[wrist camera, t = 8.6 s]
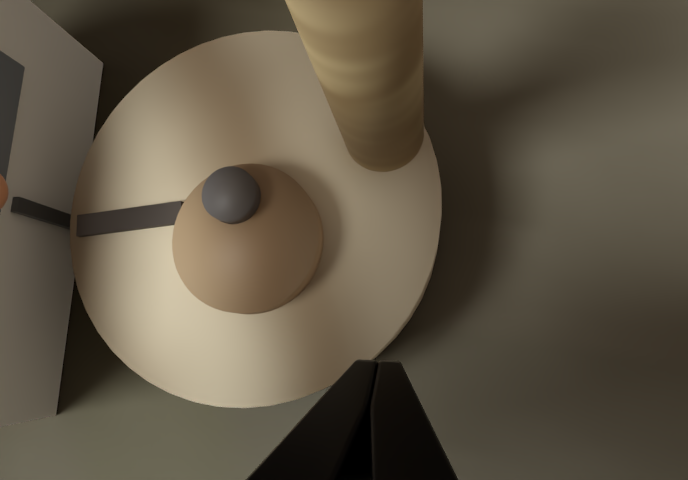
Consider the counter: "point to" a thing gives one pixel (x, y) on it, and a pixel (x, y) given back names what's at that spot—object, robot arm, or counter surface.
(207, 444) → the counter surface
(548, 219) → the counter surface
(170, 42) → the counter surface
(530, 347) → the counter surface
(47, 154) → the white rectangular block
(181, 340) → the cam dial
